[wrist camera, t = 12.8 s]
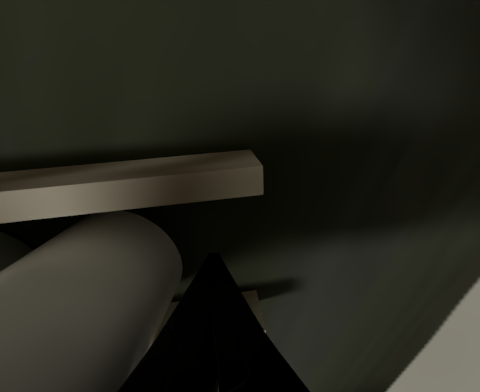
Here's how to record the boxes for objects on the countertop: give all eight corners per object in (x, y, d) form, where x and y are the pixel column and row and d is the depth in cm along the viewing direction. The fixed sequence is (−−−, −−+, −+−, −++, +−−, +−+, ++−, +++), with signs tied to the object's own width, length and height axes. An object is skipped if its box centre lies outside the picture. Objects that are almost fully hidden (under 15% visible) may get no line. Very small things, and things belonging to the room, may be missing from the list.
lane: (250, 149, 9) (267, 171, 7) (256, 302, 13) (269, 356, 10) (-302, 199, 8) (-585, 257, 5) (-112, 359, 11) (-212, 441, 9)
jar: (194, 301, 11) (108, 557, 5) (97, 305, 11) (-87, 533, 5) (164, 203, 9) (-45, 419, 3) (50, 216, 10) (-314, 410, 4)
